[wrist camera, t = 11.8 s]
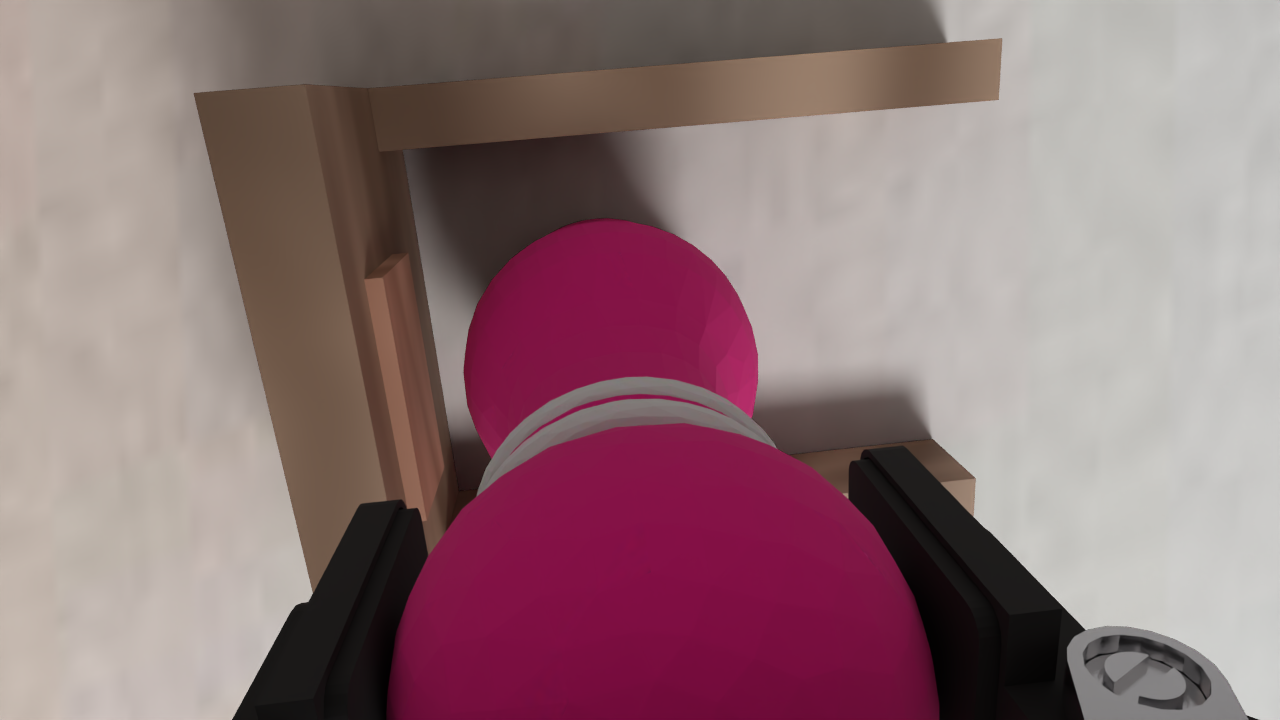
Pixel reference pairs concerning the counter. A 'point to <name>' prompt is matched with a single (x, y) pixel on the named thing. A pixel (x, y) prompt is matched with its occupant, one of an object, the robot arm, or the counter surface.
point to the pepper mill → (645, 519)
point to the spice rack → (390, 259)
